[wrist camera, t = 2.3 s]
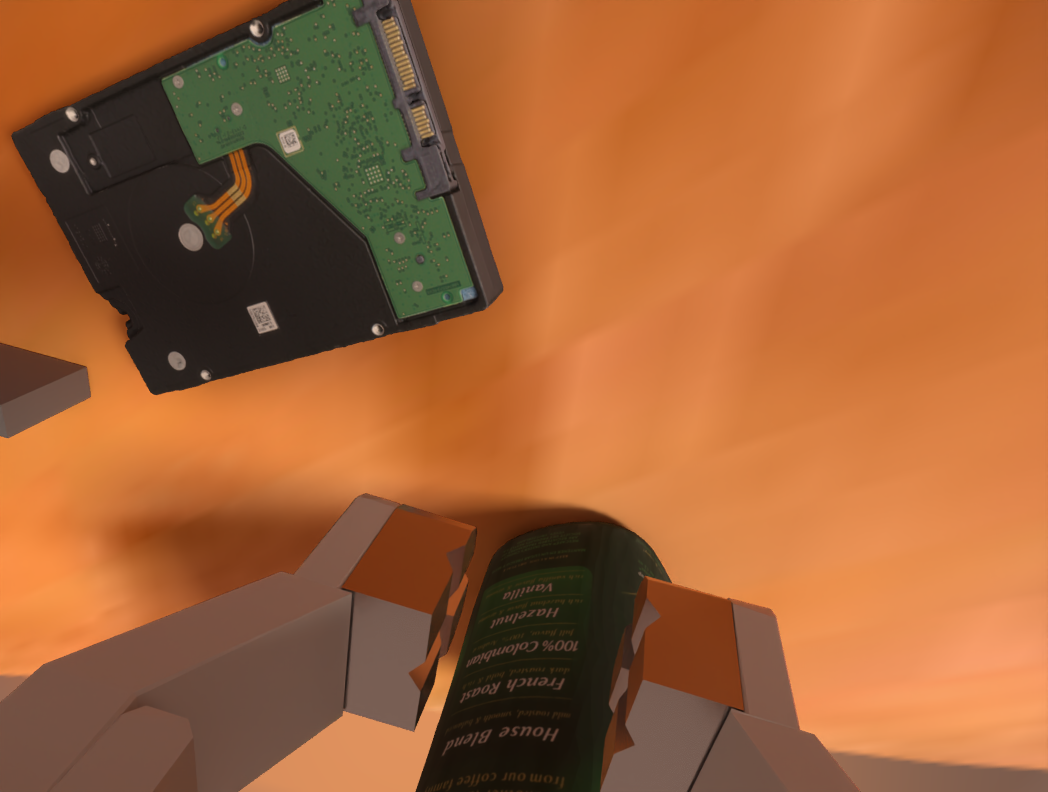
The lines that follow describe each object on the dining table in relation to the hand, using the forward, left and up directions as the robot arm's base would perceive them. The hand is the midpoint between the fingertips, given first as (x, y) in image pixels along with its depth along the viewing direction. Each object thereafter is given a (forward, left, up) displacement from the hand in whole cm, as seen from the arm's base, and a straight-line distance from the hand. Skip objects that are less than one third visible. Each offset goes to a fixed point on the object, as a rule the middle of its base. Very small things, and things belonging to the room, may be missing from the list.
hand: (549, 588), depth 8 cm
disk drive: (0, -13, -16) cm, 20 cm away
